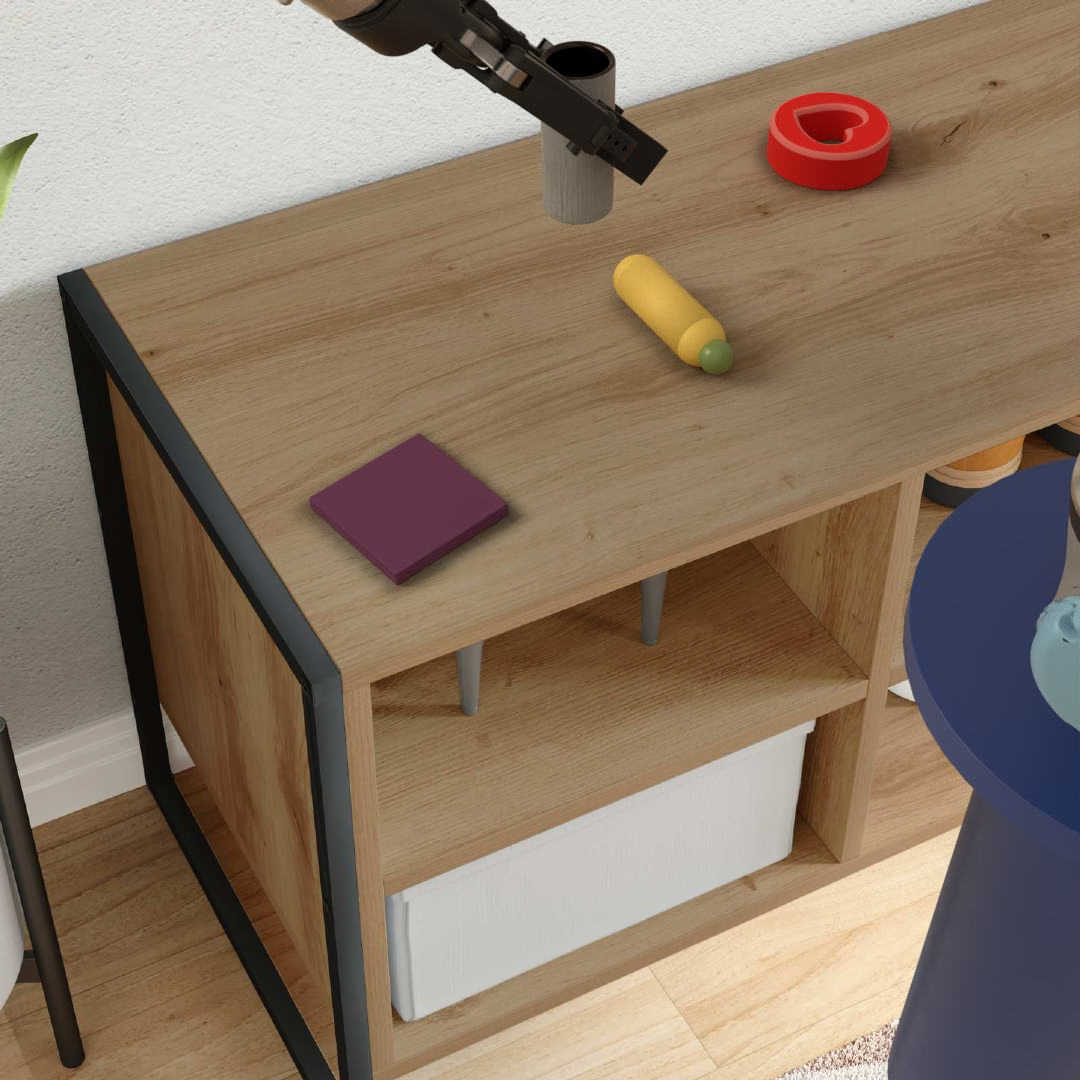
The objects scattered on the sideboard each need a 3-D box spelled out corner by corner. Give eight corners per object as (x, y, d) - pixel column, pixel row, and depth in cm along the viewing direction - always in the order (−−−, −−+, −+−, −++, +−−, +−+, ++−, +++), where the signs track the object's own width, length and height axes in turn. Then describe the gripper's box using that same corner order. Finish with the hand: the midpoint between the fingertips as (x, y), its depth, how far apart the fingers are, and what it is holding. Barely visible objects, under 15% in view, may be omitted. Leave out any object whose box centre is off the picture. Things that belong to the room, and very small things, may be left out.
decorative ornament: (771, 119, 131) (775, 85, 129) (889, 129, 130) (894, 95, 127) (761, 184, 125) (764, 149, 122) (884, 195, 123) (890, 160, 121)
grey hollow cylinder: (599, 232, 99) (600, 84, 91) (531, 218, 100) (528, 71, 93) (622, 192, 102) (626, 47, 94) (556, 179, 103) (555, 34, 95)
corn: (745, 377, 109) (749, 337, 106) (702, 395, 108) (705, 354, 105) (645, 278, 117) (646, 238, 114) (603, 294, 115) (604, 253, 113)
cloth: (508, 514, 100) (508, 503, 99) (396, 585, 96) (395, 574, 95) (420, 443, 105) (419, 432, 104) (310, 508, 101) (308, 497, 100)
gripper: (264, -48, 89) (527, 128, 106) (398, 95, 78) (666, 264, 95) (339, -163, 87) (595, 35, 104) (488, -33, 76) (746, 164, 93)
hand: (629, 144), depth 100 cm, fingers closed on grey hollow cylinder, 5 cm apart
